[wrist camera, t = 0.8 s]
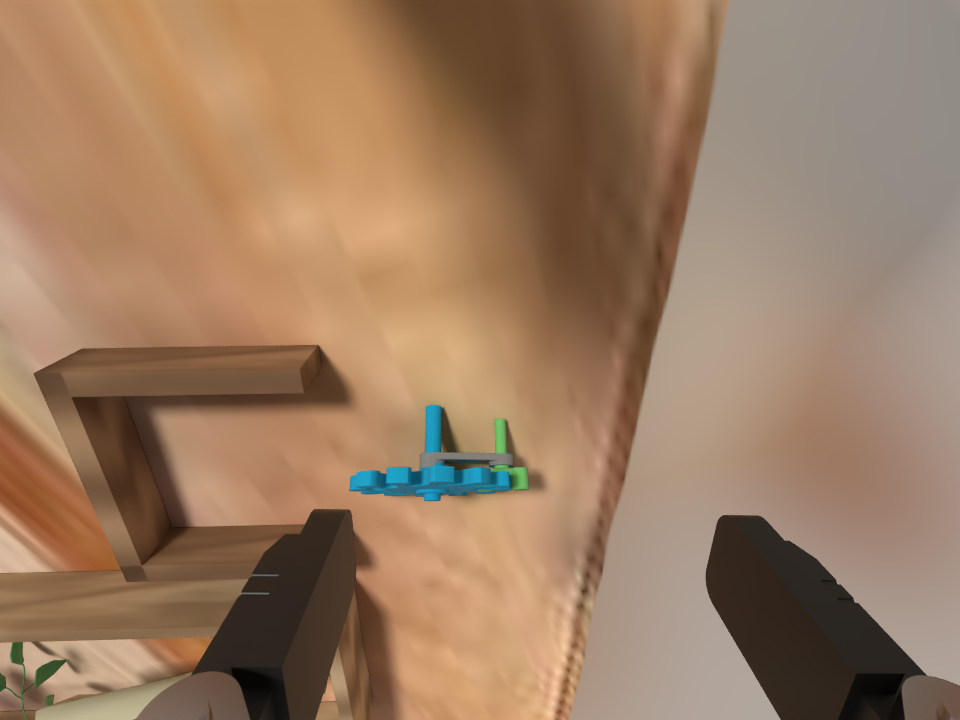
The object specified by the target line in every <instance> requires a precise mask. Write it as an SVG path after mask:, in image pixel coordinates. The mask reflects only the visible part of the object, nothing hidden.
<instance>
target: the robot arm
mask: <svg viewBox="0 0 960 720" xmlns="http://www.w3.org/2000/svg"><path fill="white" fill-rule="evenodd" d="M355 581H356V559H355V546H354V534H353V522H352V514H351V511H350V510H342V509H314V510H313V511H312V512H311V514H310V516H309V518H308V520H307V522H306V524H305V525H304V527H303V529H302V531H301V533H300V534H285V535H284V536H282V537H281V538H280V539H279V540H278V541H277V542H276V543H274V544H273V545H272V546H271V547H270V548H269V549H267V550H266V551H265V552H264V554H263V555H262V557H261V559H260V561H259V562H258V564H257V566H256V567H255V569H254V571H253V572H252V577H249V579H248V581H247V582H246V584H245V586H244V587H243V589H242V591H241V596H238V598H237V599H236V601H235V603H234V604H233V606H232V608H231V609H230V611H229V613H228V614H227V616H226V618H225V619H224V621H223V623H222V625H221V626H220V628H219V630H218V631H217V633H216V635H215V636H214V638H213V640H212V641H211V643H210V645H209V646H208V648H207V650H206V652H205V653H204V655H203V657H202V658H201V660H200V662H199V663H198V665H197V667H196V668H195V670H194V671H193V673H192V674H191V676H188V677H186V678H184V679H182V680H179V681H178V682H176V683H174V684H172V685H171V686H169V687H168V688H166V689H165V690H163V691H162V692H161V693H159V694H158V695H157V696H156V697H155V698H154V699H152V700H151V701H150V702H149V703H148V705H147V706H146V707H145V708H144V709H143V710H142V711H141V713H140V714H139V715H138V716H137V718H136V719H134V720H315V719H316V716H317V713H318V709H319V706H320V703H321V700H322V696H323V693H324V690H325V686H326V683H327V680H328V677H329V673H330V670H331V667H332V664H333V660H334V657H335V654H336V650H337V647H338V644H339V641H340V637H341V634H342V631H343V627H344V624H345V621H346V618H347V614H348V611H349V608H350V604H351V601H352V598H353V593H354V588H355ZM706 585H707V590H708V594H709V597H710V599H711V601H712V603H713V605H714V607H715V609H716V610H717V612H718V614H719V615H720V617H721V619H722V620H723V622H724V624H725V626H726V627H727V629H728V631H729V632H730V634H731V636H732V637H733V639H734V641H735V642H736V644H737V646H738V648H739V649H740V651H741V653H742V654H743V656H744V658H745V659H746V661H747V663H748V665H749V666H750V668H751V669H752V671H753V673H754V675H755V677H756V678H757V680H758V681H759V683H760V685H761V687H762V688H763V690H764V692H765V694H766V695H767V697H768V699H769V700H770V702H771V704H772V705H773V707H774V709H775V711H776V712H777V714H778V715H779V717H780V719H781V720H960V686H959V685H957V684H954V683H951V682H949V681H947V680H944V679H940V678H937V677H932V676H927V675H926V674H925V673H924V672H923V671H922V670H921V669H920V668H919V667H918V666H917V665H916V663H915V662H914V661H913V660H912V659H911V658H910V657H909V656H908V655H907V654H906V653H905V652H904V651H903V650H902V649H901V648H900V647H899V646H898V645H897V644H896V642H895V641H894V640H893V639H892V638H891V637H890V636H889V635H888V634H887V633H886V632H885V631H884V630H883V629H882V628H881V627H880V626H879V625H878V623H877V622H876V621H875V620H874V619H873V618H872V617H871V616H870V615H869V614H868V613H867V612H866V611H865V610H864V609H863V608H862V607H861V606H860V605H859V604H858V603H855V602H854V600H853V597H852V596H851V595H850V594H849V593H848V592H847V591H846V590H845V589H844V588H843V587H842V586H841V585H838V584H837V583H836V579H835V578H834V577H833V576H832V575H831V574H830V573H829V572H828V571H827V570H826V569H825V568H824V567H823V566H822V565H821V563H820V562H819V561H818V560H817V559H816V558H814V557H813V556H811V555H810V554H808V553H807V552H805V551H804V550H802V549H801V548H799V547H798V546H796V545H795V544H793V543H792V542H790V541H784V540H783V538H782V537H781V536H780V535H779V534H778V533H777V532H776V531H775V530H774V529H773V527H772V526H771V525H770V524H769V523H768V522H767V521H766V520H765V519H764V518H762V517H761V516H747V515H745V516H743V515H723V516H721V517H720V518H719V520H718V522H717V525H716V530H715V534H714V538H713V543H712V547H711V552H710V556H709V560H708V564H707V569H706Z"/></svg>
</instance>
